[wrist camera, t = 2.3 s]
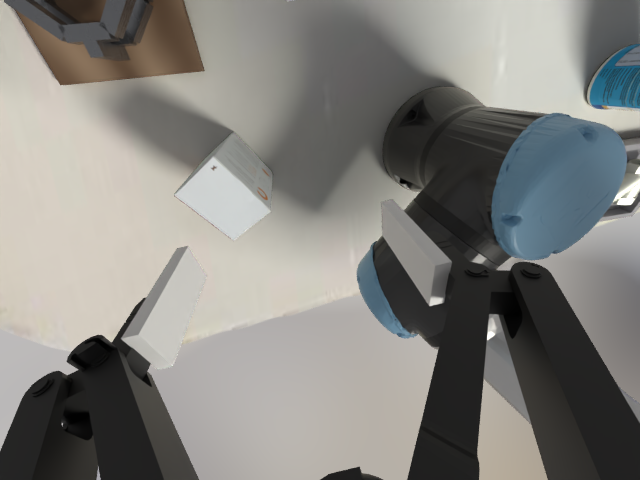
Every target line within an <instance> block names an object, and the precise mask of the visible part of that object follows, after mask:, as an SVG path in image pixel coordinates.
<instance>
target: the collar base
mask: <svg viewBox="0 0 640 480" xmlns="http://www.w3.org/2000/svg"><path fill="white" fill-rule="evenodd" d="M55 2H56V4H57V6H59V7H60V8H61V9H63V10H64V11H65V12H67V13H68V14H70V15H71V16H72V17H74V18H75V19H76V20H78V21H79V22H81V23H93V22H100V20H101V17H102V14H103V10H104V7H105V4H106V0H55ZM149 3H150V4H151V5H152V6H153V10H152V13H151V15H150V18H149V21H148V23H147V26H146V29H145V31H144V34H143V37H142V40H141V42H140V43H137V42H136V43H137V45H136V46H125V48H126V50H127V53H128V55H129V57H130V60H127V61H114V60H106V59H97V58H91V57H90V55H89V53H88V51H87V49H86V47H85V45H84V44H82V45H77V44H71V43H67V42H64V41H61V40H60V39H58V38H57V37H55V36H54V35H52V34H51V33H49V32H48V31H46V30H45V29H43V28H42V27H40V26H39V25H37V24H36V23H35V22H33V21H32V20H30V19H29V18H27V17H26V16H24V15H23V14H21V13H20V12H18V11H17V10H16V12H17V14H18V15H19V17H20V19H21V20H22V22H23V24H24V25H25V27H26V29H27V30H28V32H29V34H30V35H31V37H32V39H33V40H34V42H35V44H36V45H37V47H38V49H39V50H40V52H41V54H42V55H43V57H44V59H45V60H46V62H47V64H48V65H49V67H50V69H51V70H52V72H53V74H54V75H55V77H56V79H57V80H58V82H59V84H60V85H71V84H80V83H90V82H100V81H110V80H120V79H130V78H140V77H150V76H160V75H170V74H180V73H190V72H199V71H204V67H203V64H202V61H201V57H200V54H199V51H198V47H197V44H196V41H195V37H194V34H193V30H192V27H191V24H190V20H189V17H188V14H187V10H186V7H185V4H184V0H153V2H149Z"/></svg>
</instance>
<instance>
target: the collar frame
mask: <svg viewBox="0 0 640 480" xmlns="http://www.w3.org/2000/svg"><path fill="white" fill-rule="evenodd" d="M4 2H5V3H7V4H8V5H9V6H11V7H12V8H14V9H15V10H17V11H18V12H20V13H21V14H23V15H24V16H26V17H27V18H29V19H30V20H32V21H33V22H35V23H36V24H37V25H39V26H40V27H42V28H43V29H45V30H46V31H48V32H49V33H51V34H52V35H54V36H55V37H57V38H58V39H60V40H61V41H64V42H67V43H71V44H77V45H82V44H84V45H85V47H86V49H87V51H88V53H89V55H90V57H91V58H97V59H106V60H114V61H127V60H130V57H129V55H128V53H127V50H126V48H125V46H136V45H137V43H140V42H141V40H142V37H143V34H144V31H145V29H146V26H147V23H148V21H149V18H150V15H151V13H152V10H153V6H152V5H151V4H150V3H149V2H153V0H106V4H105V7H104V10H103V14H102V17H101V20H100V22H93V23H81V22H79V21H78V20H76V19H75V18H74V17H72V16H71V15H70V14H68V13H67V12H65V11H64V10H63V9H61V8H60V7H59V6H57V4H56V2H55V0H4ZM136 42H137V43H136Z"/></svg>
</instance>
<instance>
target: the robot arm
mask: <svg viewBox="0 0 640 480" xmlns="http://www.w3.org/2000/svg"><path fill="white" fill-rule="evenodd" d="M383 160H384V164H385V167H386V170H387V172H388V173H389V175H390V176H391V177H392V178H393V179H394V180H395V181H396V182H397V183H398V184H399V185H401V186H402V187H404V188H406V189H408V190H411V191H416V192H420V193H419V194H418V195H417V197H416V198H415V199H414V200H413V201H412V202H411V203H410V204H409V205H408V206H407V208H406V209H405V210H404V211H403V210H402V209H401V208H400V207H399V206H398V204H397V203H396V202H395V201H394V200H393V199H391V200H387V201H382V202H381V207H382V236H381V238H380V239H379V240H378V241H376V242H374V243H373V244H372V245H371V248H370V250H369V251H368V252H367V254H366V255H365V256H364V258H363V259H362V260H361V262H360V263H359V265H358V268H357V281H358V284H359V289H360V292H361V294H362V296H363V298H364V301H365V302H366V304H367V306H368V307H369V309H370V310H371V312H372V313H373V314H374V315H375V317H376V318H377V319H378V321H379V322H380V323H381V324H382V325H383V326H384V327H386V328H387V329H388V330H389V331H391V332H392V333H393V334H397V335H398V336H399V337H401V338H410V337H414V336H416V335H417V334H419V335H420V336H421V337H422V338H423V339H424V340H425V341H426V342H428V344H429V345H431V347H433V348H434V349H438V354H437V359H436V363H435V367H434V371H433V375H432V379H431V384H430V388H429V392H428V397H427V401H426V405H425V409H424V413H423V418H422V422H421V426H420V429H419V433H418V437H417V441H416V445H415V450H414V454H413V458H412V462H411V467H410V471H409V475H408V479H407V480H479V461H478V457H477V446H478V434H479V424H480V412H481V401H482V390H483V379H484V380H485V381H486V382H487V383H488V384H489V385H490V386H492V387H493V388H494V389H495V390H496V391H497V392H498V393H499V394H500V395H501V396H502V397H503V398H504V399H505V400H506V401H507V402H508V403H509V404H510V405H511V406H513V408H515V409H516V410H517V411H518V412H519V413H520V414H521V415H522V416H523V417H524V418H525V419H526V420H527V421H528V422H529V423H530V424H531V425H532V428H533V431H534V435H535V438H536V441H537V445H538V448H539V451H540V454H541V458H542V461H543V465H544V468H545V471H546V474H547V478H548V480H640V404H639V403H638V402H637V401H636V400H634V399H633V398H632V397H631V396H629V395H628V394H627V393H626V392H624V391H623V390H622V389H621V388H620V387H618V385H617V384H616V382H615V380H614V379H613V377H612V376H611V374H610V372H609V370H608V369H607V367H606V365H605V364H604V362H603V360H602V358H601V357H600V355H599V354H598V352H597V350H596V348H595V347H594V345H593V343H592V342H591V340H590V338H589V337H588V335H587V333H586V332H585V330H584V328H583V327H582V325H581V323H580V321H579V320H578V318H577V317H576V315H575V313H574V311H573V310H572V308H571V307H570V305H569V303H568V301H567V300H566V298H565V296H564V295H563V293H562V291H561V289H560V288H559V286H558V284H557V283H556V281H555V279H554V278H553V276H552V274H551V273H550V272H549V271H548V270H547V269H546V268H543V267H542V266H540V265H537V264H535V263H530V262H518V263H515V264H514V265H513V266H512V268H511V270H510V271H498V270H496V269H497V268H498V267H499V266H500V265H501V264H503V263H504V262H505V261H506V260H508V259H509V258H510V257H511V256H512V257H515V258H521V259H524V260H539V259H544V258H547V257H549V256H550V254H551V253H554V254H556V253H559V252H562V251H564V250H565V249H567V248H569V247H570V246H572V245H573V244H574V243H576V242H577V241H578V240H580V239H581V238H582V237H583V236H584V235H585V234H587V233H588V232H589V231H590V230H591V229H592V228H593V227H594V226H595V225H596V224H597V222H598V221H599V220H600V219H601V218H602V217H603V215H604V214H605V212H606V211H607V210H608V209H609V207H610V206H611V204H612V202H613V201H614V199H615V197H616V195H617V193H618V191H619V188H620V185H621V183H622V181H623V179H624V175H625V171H626V165H627V153H626V149H625V145H624V143H623V141H622V139H621V137H620V136H619V135H618V134H617V133H616V132H615V131H614V130H613V129H611V128H609V127H608V126H605V125H603V124H600V123H596V122H591V121H586V120H582V119H577V118H572V117H570V116H569V115H566V114H562V113H552V114H545V113H536V112H527V111H519V110H510V109H502V108H493V107H486V106H484V105H483V104H482V103H481V102H480V101H479V100H478V99H476V98H475V97H474V96H473V95H472V94H470V93H469V92H467V91H465V90H463V89H460V88H456V87H434V88H430V89H427V90H424V91H422V92H420V93H418V94H417V95H415V96H413V97H412V98H411V99H409V100H408V101H407V102H406V103H405V104H404V105H403V106H402V107H401V108H400V109H399V110H398V112H397V113H396V114H395V116H394V117H393V119H392V121H391V123H390V125H389V127H388V129H387V132H386V135H385V138H384V143H383ZM206 278H207V275H206V273H205V271H204V270H203V268H202V267H201V265H200V263H199V262H198V260H197V259H196V257H195V256H194V254H193V252H192V251H191V249H190V248H189V246H186V247H181V248H177V249H176V251H175V252H174V254H173V256H172V257H171V259H170V261H169V262H168V264H167V265H166V267H165V269H164V270H163V272H162V273H161V275H160V277H159V278H158V280H157V281H156V283H155V285H154V286H153V288H152V289H151V291H150V293H149V294H148V296H147V297H146V298H143V299H142V300H141V301H140V302H139V303H138V304H137V305H136V306H135V308H134V309H133V311H132V312H131V314H130V316H129V317H128V319H127V320H126V323H124V325H123V326H122V328H121V329H120V331H119V332H118V334H117V336H116V337H115V339H114V340H113V342H112V343H111V342H110V341H109V340H107V339H106V338H105V337H104V336H102V335H96V336H93V337H90V338H89V339H87V340H85V341H83V342H82V343H81V344H79V345H78V346H77V347H76V348H75V349H74V350H73V351H72V352H71V353H70V355H69V356H68V359H67V362H68V363H69V364H71V365H72V366H74V367H75V368H77V369H78V371H76V372H74V373H72V374H70V375H65V374H64V373H62V372H60V371H55V372H52V373H50V374H47V375H46V376H44V377H42V378H41V379H39V380H38V381H37V382H35V383H34V384H33V385H32V386H31V387H30V389H28V391H27V392H26V393H25V395H24V396H23V398H22V400H21V402H20V405H19V407H18V410H17V412H16V414H15V417H14V419H13V422H12V424H11V427H10V429H9V431H8V434H7V436H6V439H5V441H4V444H3V446H2V448H1V451H0V480H96V478H97V470H98V466H99V472H100V478H101V480H199V479H198V476H197V474H196V472H195V470H194V468H193V465H192V463H191V461H190V459H189V457H188V455H187V453H186V450H185V448H184V446H183V444H182V441H181V439H180V437H179V435H178V433H177V431H176V429H175V426H174V424H173V422H172V420H171V418H170V415H169V413H168V411H167V409H166V406H165V404H164V402H163V400H162V398H161V396H160V393H159V391H158V389H157V387H156V385H155V383H154V381H153V378H152V376H151V375H150V374H149V373H148V372H147V370H148V369H149V366H150V364H151V365H152V366H153V367H155V368H156V369H157V370H160V369H164V368H169V367H173V365H174V362H175V359H176V357H177V354H178V352H179V349H180V346H181V344H182V341H183V338H184V336H185V333H186V330H187V328H188V325H189V322H190V320H191V317H192V315H193V312H194V309H195V307H196V304H197V301H198V299H199V296H200V293H201V291H202V288H203V286H204V283H205V280H206ZM61 423H63V426H62V425H61ZM321 480H383V479H381V478H379V477H376V476H373V475H369V474H363V473H361V470H360V467H357V468H352V469H348V470H344V471H340V472H336V473H331V474H328V475H327V476H326V477H324V478H322V479H321Z"/></svg>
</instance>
